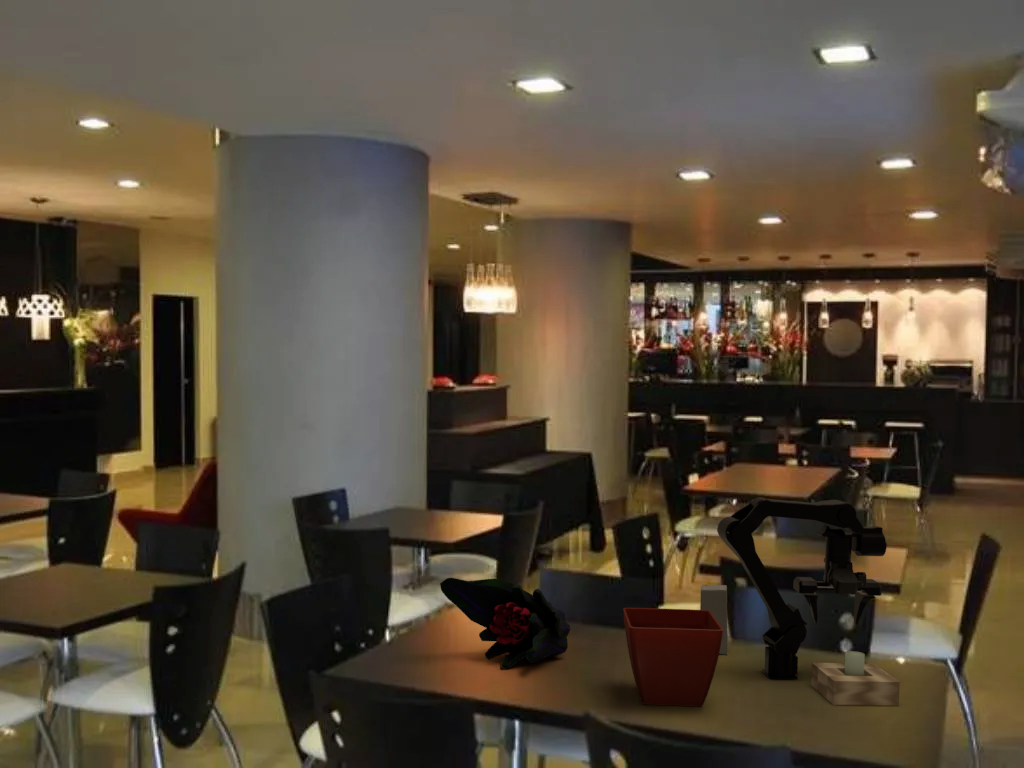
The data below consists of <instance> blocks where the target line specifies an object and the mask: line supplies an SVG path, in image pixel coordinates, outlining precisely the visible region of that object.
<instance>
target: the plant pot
mask: <svg viewBox="0 0 1024 768" xmlns="http://www.w3.org/2000/svg"><path fill="white" fill-rule="evenodd" d="M622 611H623V621H624V630H625V637H626V644H627V645H626V646H627V650H628V656H629V661H630V666H631V670H632V675H633V680H634V683H635V686H636V689H637V693H638V697H639V699H640V700H639V701H640V703H641V704H643V705H657V706H658V705H659V706H660V705H661V706H685V707H686V706H687V707H702V706H703V705H704V704H705V702H706V699H707V696H708V694H709V691H710V689H711V686H712V683H713V679H714V675H715V672H716V668H717V664H718V661H719V655H720V654H719V652H720V647H721V641H722V635H723V628H722V627H721V626H720V624H719V623H718V621H717V620H716V619H715V617H714V616H713V614H712V613H711V611H708V610H700V609H690V608H689V609H688V608H687V609H686V608H684V609H683V608H661V607H660V608H657V607H656V608H654V607H624V608H623V609H622Z"/></svg>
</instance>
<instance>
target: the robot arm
mask: <svg viewBox="0 0 1024 768" xmlns="http://www.w3.org/2000/svg"><path fill="white" fill-rule="evenodd" d="M768 517H775V518H787V519H795V520H796V519H799V520H808V521H809V520H810V521H817V522H821V523H824V524H823V526H822V527H821V528H820V529H818V530H817V531H816V534H817V535H818V536H821V537H823V538H824V537H825V550H824V551H825V552H824V556H825V557H823V562H824V575H823V576H822V577H823V578H822V580H823V581H821V580H820V581H817V580H815V579H814V578H813V577H811V576H796V577H795V578H794V579H793V584H792V585H793V589H794V590H795V591H796V592H798V594H800V595H802V596H803V597H804V598H805V600H806V602H807V605H808V607H809V610H810V614H811V617H812V620H813V622H814V624H818V620H819V619H818V598H819V596H818V595H819V594H817V593H816V592H817V591H818V590H820V591H821V590H822V591H823V590H824V591H834V592H835V593H836V594H838V595H843V594H846V595H847V594H848V595H849V594H850V595H854V605H853V607H854V608H853V623H854V625H855V626H856V625H858V624H859V621H860V619H861V616H862V614H863V612H864V610H865V607H866V606H867V604H868V603H869V602H870V601H871V600H875V599H876V596H879V597H881V596H882V585H881V583H879V582H878V581H876V580H874V579H872V578H867V574H866V572H865V571H857V572H854V568H853V562H852V552H853V553H854V554H855V556H857V557H883V556H885V554H886V551H887V547H888V544H887V542H886V536H885V534H884V533H883V530H884V529H883V527H881V526H879V525H878V526H877V525H876V526H875V525H874V526H863V525H862V523H861V522H860V520H859V519H858V517H857V511H856V509H855V506H853V505H852V504H851V503H849V502H844V501H843V500H838V499H829V500H827V499H826V500H819V501H815V502H808V501H807V502H805V501H804V502H803V501H794V500H793V501H792V500H784V499H783V500H782V499H772V498H771V499H770V498H764V497H759V496H758V497H756V498H753V500H751V501H750V502H749V503H748V504H747V505H745V506H743V507H742V508H739V509H738V510H737V511H735V512H734V513H733V514H732V515H730V516H726V517H723V518H722V519H721V520H720V521H719V523H718V524H717V528H716V532H717V535H718V536H719V538H720V539H721V540H722V541H723V542H724V544H725V545H726V546H727V548H729V549H730V551H732V553H733V554H734V555H736V557H737V558H738V560H739V561H740V563H741V565H742V567H743V568H744V570H745V572H746V574H747V576H748V577H749V579H750V581H751V582H752V584H753V586H754V588H755V589H756V591H757V593H758V595H759V596H760V599H761V600H762V602H763V603H764V606H765V607H766V610H767V614H768V619H769V622H770V627H769V628H768V629H767V630H766V631H765V632H764V634H762V640H763V643H764V644H765V645H766V646H765V647H764V668H762V669H761V672H762V673H763V674H764V675H765V676H766V677H767V678H769V679H770V680H798V677H799V676H797V675H798V670H799V669H798V668H799V667H798V666H799V657H798V656H797V654H798V651H799V648H800V646H801V644H802V643H803V642H804V641H805V639H806V638H807V634H808V630H807V627H806V626H807V625H808V623H807V622H806V621H805V620H804V619H803V617H802V615H801V611H800V610H799V609H798V608H797V607H795V606H794V605H792V604H791V603H787V604H786V602H785V600H784V599H783V597H782V595H781V593H780V592H779V589H778V588H777V587H776V584H775V583H774V582H773V579H772V577H771V576H770V574H769V573H768V570H767V569H766V567H765V565H764V564H763V562H762V560H761V558H760V556H759V555H758V553H757V550H756V546H755V545H756V544H755V539H754V537H753V533H754V532H755V531H756V530H758V528H759V527H760V526H761V524H762V523H763V522H764V520H765V519H766V518H768ZM826 524H827V525H826ZM828 525H831V526H834V527H838V528H831V527H830V526H828ZM842 528H843V529H844V530H845V529H846V530H848V531H850V532H845V531H844V530H843V529H842Z"/></svg>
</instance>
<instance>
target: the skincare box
mask: <svg viewBox="0 0 1024 768" xmlns="http://www.w3.org/2000/svg"><path fill="white" fill-rule="evenodd" d="M727 586H728V585H725V584H701V586H700V603H699V604H700V605H699V606H700V607H699V610H708V611H711V613H712V614H713V616H714V617H715V619H716V620H717V621H718V623H719V624H720V626H721V627H722V628H723V635H722V641H721V647H720V652H719V655H728V651H729V649H728V647H729V646H728V642H729V641H728V637H729V636H728V590H727V589H728V587H727Z"/></svg>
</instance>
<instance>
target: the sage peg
mask: <svg viewBox="0 0 1024 768" xmlns="http://www.w3.org/2000/svg"><path fill="white" fill-rule="evenodd" d="M865 655H866V654H865V653H864V652H859V651H855V650H854V651H853V650H851V651H850V650H849V651H846V652H845V655H844V663H845V675H846V676H864V663H865V658H866V656H865Z"/></svg>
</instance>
